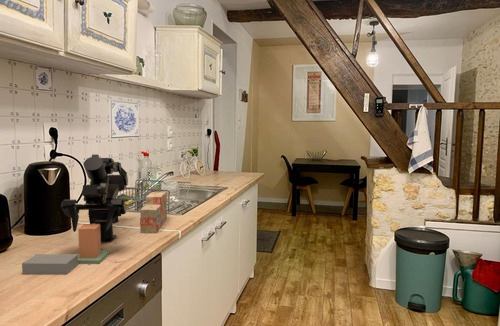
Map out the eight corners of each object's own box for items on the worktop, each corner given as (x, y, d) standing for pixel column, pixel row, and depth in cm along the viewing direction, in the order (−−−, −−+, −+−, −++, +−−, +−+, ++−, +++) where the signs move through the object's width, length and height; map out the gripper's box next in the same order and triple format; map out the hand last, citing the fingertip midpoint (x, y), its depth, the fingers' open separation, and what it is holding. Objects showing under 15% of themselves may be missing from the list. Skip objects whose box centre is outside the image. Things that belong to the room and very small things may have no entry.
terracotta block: (84, 252, 113) (83, 224, 112) (101, 251, 113) (100, 223, 112) (79, 258, 108) (78, 229, 107) (96, 257, 108) (96, 228, 107)
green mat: (82, 252, 115) (82, 249, 115) (110, 252, 115) (110, 249, 115) (68, 263, 106) (68, 260, 106) (99, 263, 106) (99, 260, 106)
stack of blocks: (156, 233, 137) (156, 201, 135) (140, 233, 136) (139, 201, 135) (167, 218, 158) (166, 191, 156) (152, 218, 158) (152, 191, 156)
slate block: (36, 264, 105) (36, 254, 105) (78, 264, 106) (77, 254, 105) (22, 273, 98) (21, 263, 98) (66, 274, 99) (66, 263, 98)
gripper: (61, 174, 112) (49, 218, 102) (123, 174, 115) (117, 216, 105) (70, 194, 121) (60, 236, 111) (128, 193, 124) (123, 234, 114)
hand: (90, 230), depth 110 cm, fingers open, 9 cm apart
